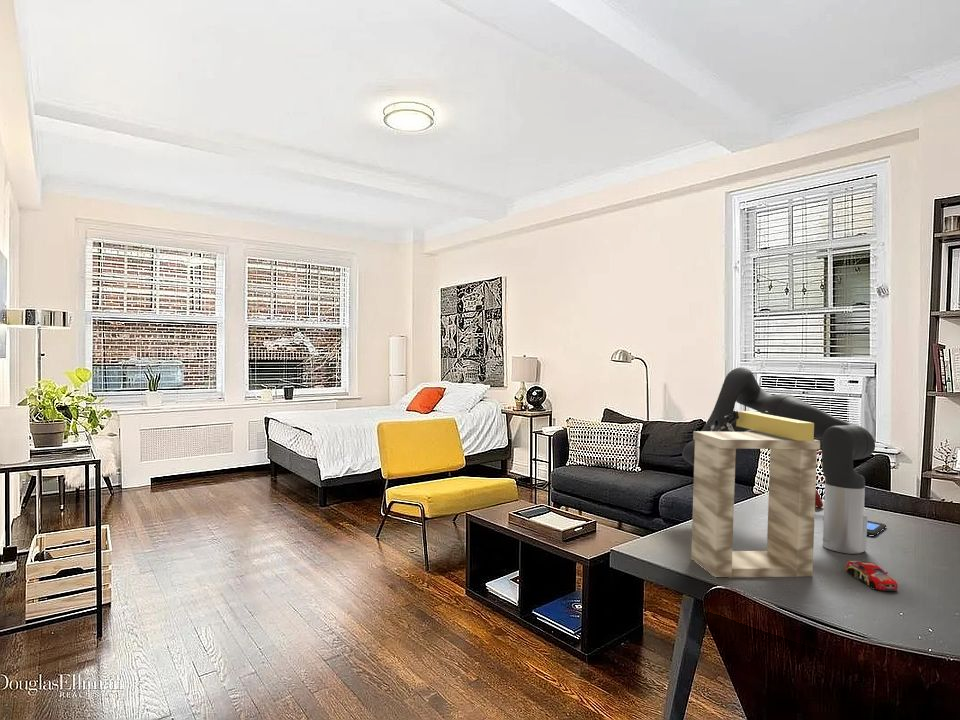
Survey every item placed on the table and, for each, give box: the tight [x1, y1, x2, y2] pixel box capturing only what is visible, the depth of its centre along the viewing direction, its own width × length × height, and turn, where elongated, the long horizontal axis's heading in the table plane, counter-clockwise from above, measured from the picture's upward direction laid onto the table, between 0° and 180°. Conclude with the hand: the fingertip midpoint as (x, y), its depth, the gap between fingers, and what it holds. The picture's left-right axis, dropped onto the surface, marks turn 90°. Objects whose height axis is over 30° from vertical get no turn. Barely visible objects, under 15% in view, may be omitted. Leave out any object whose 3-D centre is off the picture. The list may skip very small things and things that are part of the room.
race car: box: [845, 560, 899, 592], centre depth 138 cm, size 13×5×4 cm, turn 179°
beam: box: [736, 410, 815, 441], centre depth 149 cm, size 4×26×4 cm, turn 6°
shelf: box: [690, 430, 821, 578], centre depth 145 cm, size 24×14×32 cm, turn 96°
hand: (752, 414), depth 158 cm, fingers open, 8 cm apart
